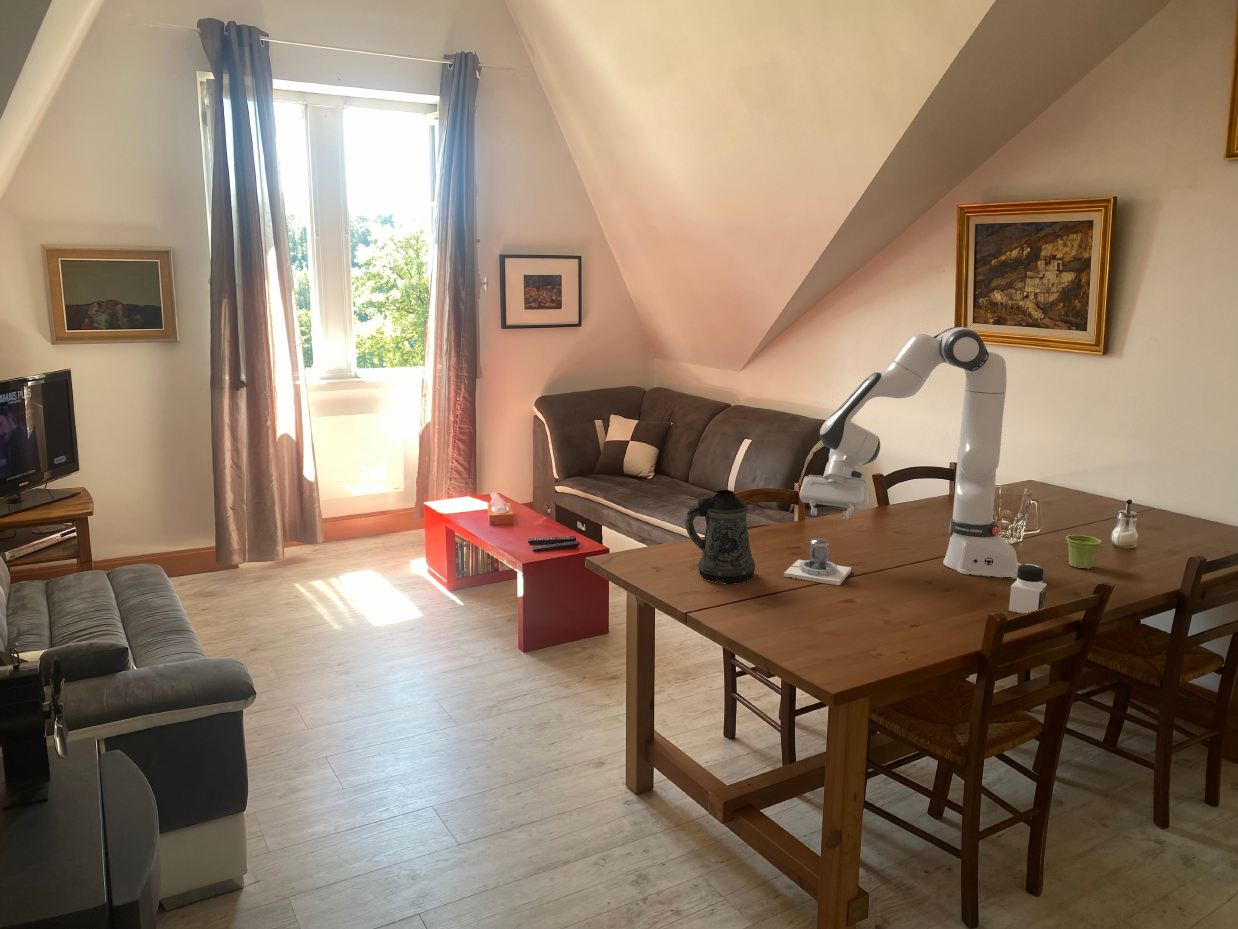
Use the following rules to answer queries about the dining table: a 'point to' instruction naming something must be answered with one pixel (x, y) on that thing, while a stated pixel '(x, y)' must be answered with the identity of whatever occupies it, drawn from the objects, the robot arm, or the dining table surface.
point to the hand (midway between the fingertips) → (828, 516)
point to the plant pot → (1082, 550)
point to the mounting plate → (819, 578)
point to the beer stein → (723, 538)
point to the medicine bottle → (1028, 590)
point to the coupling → (819, 553)
